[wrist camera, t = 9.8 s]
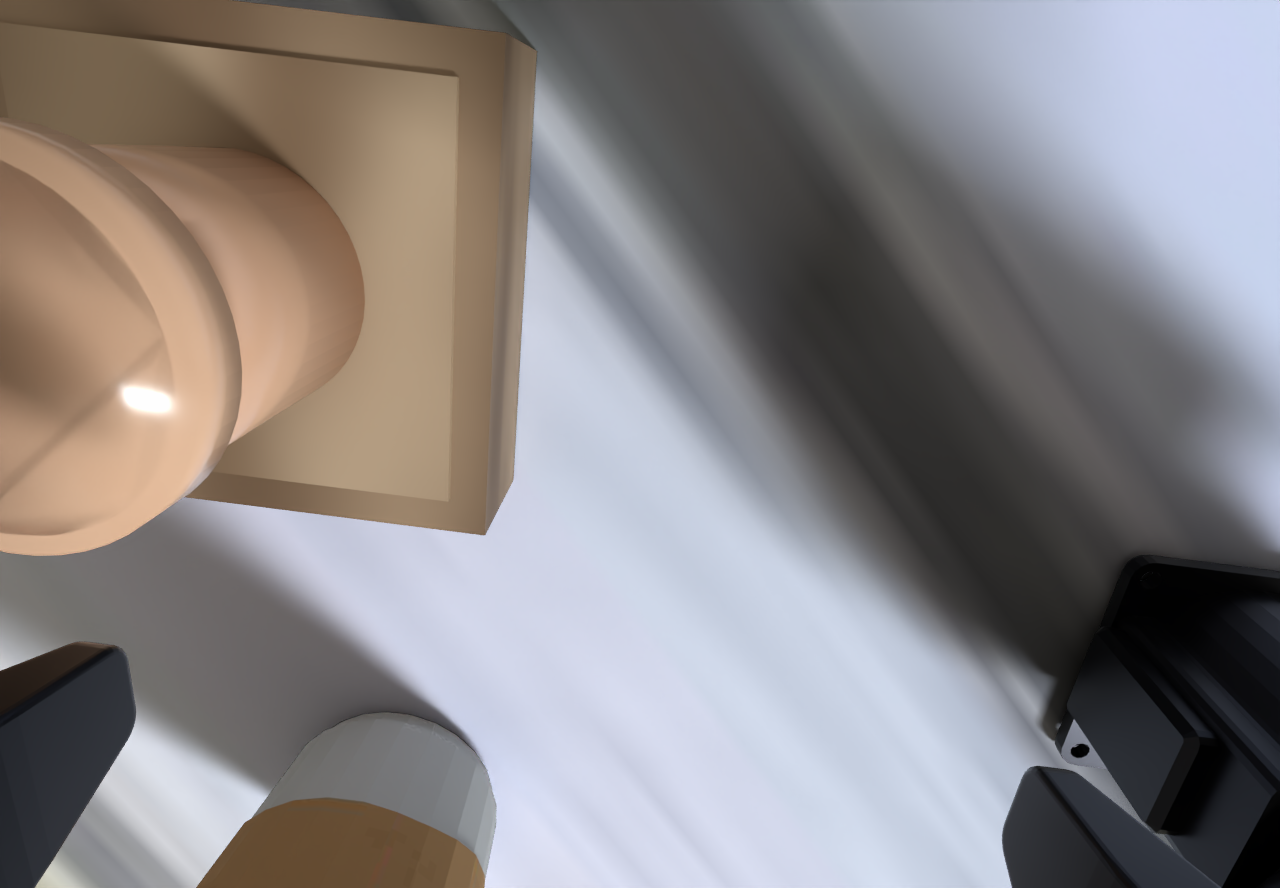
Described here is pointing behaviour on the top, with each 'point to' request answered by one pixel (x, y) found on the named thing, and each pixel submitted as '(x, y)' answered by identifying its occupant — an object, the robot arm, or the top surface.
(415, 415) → the square wooden tray
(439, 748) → the coffee cup
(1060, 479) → the top surface
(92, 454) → the terracotta pot
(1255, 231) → the top surface
